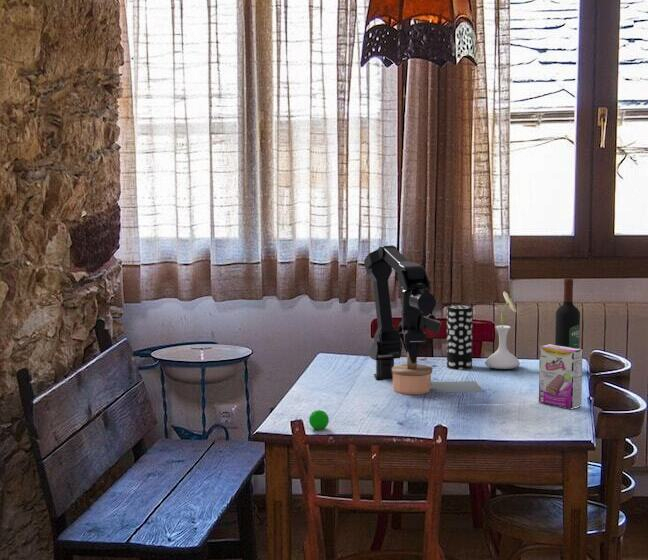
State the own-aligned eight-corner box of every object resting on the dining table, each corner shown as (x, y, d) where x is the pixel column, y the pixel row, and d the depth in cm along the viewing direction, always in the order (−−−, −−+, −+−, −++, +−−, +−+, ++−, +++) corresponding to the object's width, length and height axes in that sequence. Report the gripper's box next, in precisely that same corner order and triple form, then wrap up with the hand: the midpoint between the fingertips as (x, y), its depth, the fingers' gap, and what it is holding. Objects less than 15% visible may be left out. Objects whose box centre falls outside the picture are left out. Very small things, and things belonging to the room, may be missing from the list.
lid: (389, 367, 308) (389, 348, 308) (429, 367, 309) (429, 347, 308) (394, 376, 296) (394, 356, 296) (435, 375, 297) (435, 355, 296)
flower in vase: (517, 372, 327) (518, 295, 324) (481, 370, 331) (482, 294, 328) (523, 364, 340) (524, 290, 337) (488, 362, 343) (489, 289, 340)
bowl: (391, 387, 309) (391, 368, 308) (427, 387, 309) (427, 367, 308) (395, 396, 298) (395, 376, 297) (432, 395, 298) (432, 375, 297)
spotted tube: (473, 369, 333) (474, 309, 330) (448, 369, 333) (448, 309, 330) (470, 364, 341) (470, 305, 338) (445, 364, 341) (445, 305, 339)
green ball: (312, 425, 266) (312, 408, 265) (331, 427, 264) (330, 409, 264) (307, 430, 261) (306, 412, 260) (325, 432, 259) (325, 413, 259)
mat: (430, 383, 313) (430, 381, 313) (475, 382, 314) (475, 381, 314) (437, 393, 300) (437, 392, 300) (484, 392, 300) (484, 391, 300)
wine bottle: (560, 368, 333) (562, 277, 330) (582, 371, 329) (584, 278, 325) (550, 372, 327) (552, 279, 324) (573, 375, 323) (575, 281, 319)
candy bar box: (537, 403, 287) (538, 346, 285) (547, 400, 291) (548, 343, 289) (572, 410, 279) (573, 351, 277) (582, 407, 283) (583, 348, 281)
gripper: (444, 312, 291) (443, 366, 293) (434, 302, 310) (434, 353, 312) (405, 313, 291) (405, 366, 293) (397, 303, 309) (397, 354, 311)
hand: (411, 360), depth 302 cm, fingers open, 9 cm apart
